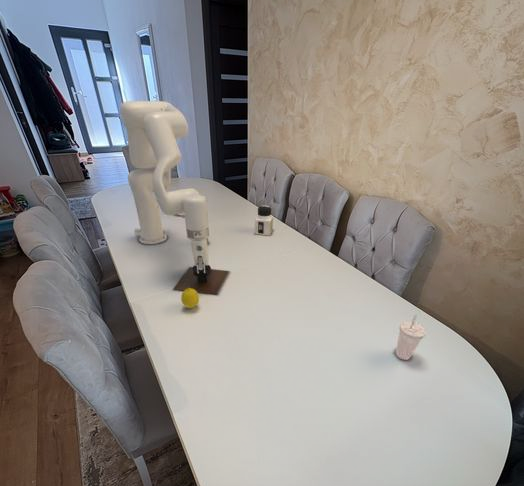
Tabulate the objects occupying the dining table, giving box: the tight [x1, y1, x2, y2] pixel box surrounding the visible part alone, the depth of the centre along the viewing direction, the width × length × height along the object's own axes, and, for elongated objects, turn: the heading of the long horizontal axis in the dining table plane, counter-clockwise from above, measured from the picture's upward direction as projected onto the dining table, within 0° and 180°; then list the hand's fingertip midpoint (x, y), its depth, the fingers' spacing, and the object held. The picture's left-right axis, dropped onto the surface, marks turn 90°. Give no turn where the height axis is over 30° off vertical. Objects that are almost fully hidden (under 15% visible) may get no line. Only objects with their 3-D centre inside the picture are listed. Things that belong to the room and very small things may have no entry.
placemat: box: [173, 266, 230, 296], centre depth 115 cm, size 16×16×1 cm
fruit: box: [180, 288, 200, 309], centre depth 99 cm, size 6×6×8 cm
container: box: [254, 205, 274, 236], centre depth 152 cm, size 8×8×13 cm
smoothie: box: [395, 314, 427, 361], centre depth 81 cm, size 6×6×14 cm
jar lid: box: [192, 264, 212, 276], centre depth 113 cm, size 7×7×2 cm
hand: (202, 276), depth 114 cm, fingers closed on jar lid, 6 cm apart
